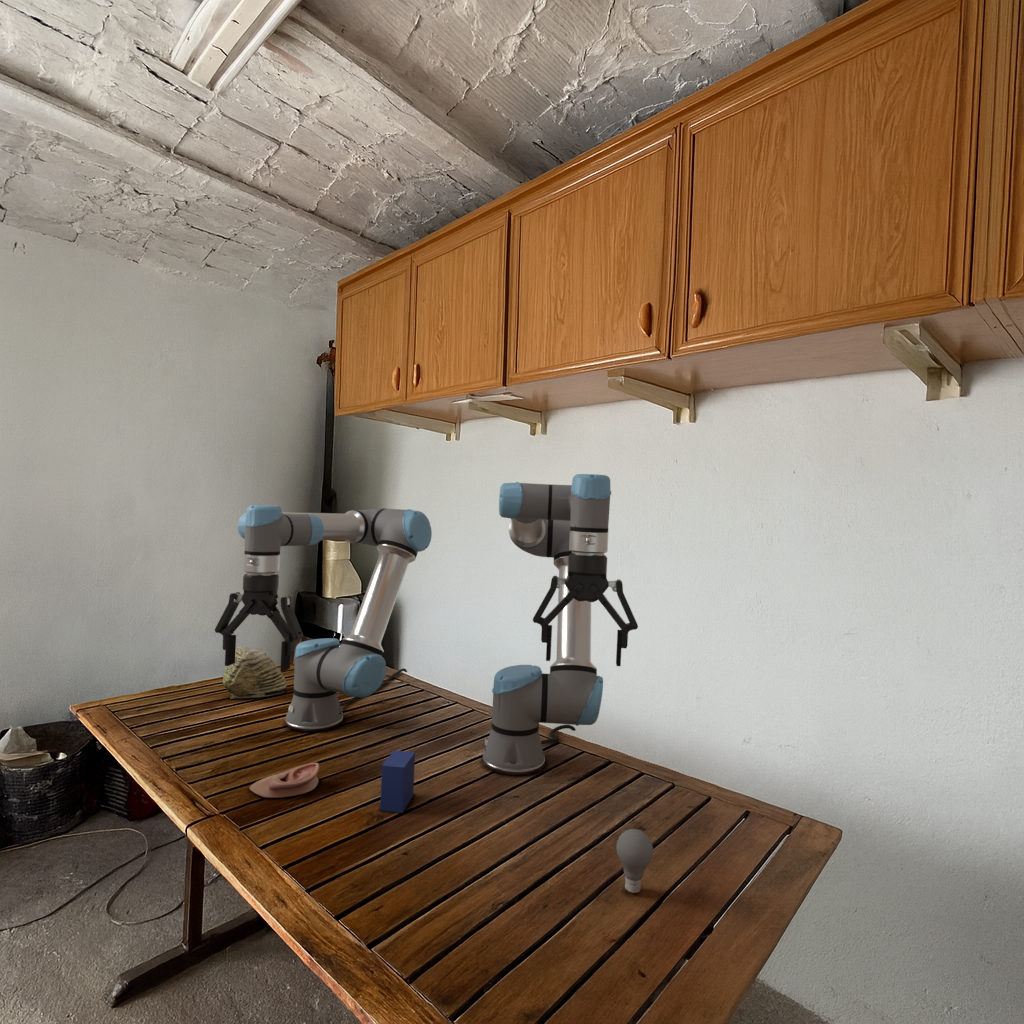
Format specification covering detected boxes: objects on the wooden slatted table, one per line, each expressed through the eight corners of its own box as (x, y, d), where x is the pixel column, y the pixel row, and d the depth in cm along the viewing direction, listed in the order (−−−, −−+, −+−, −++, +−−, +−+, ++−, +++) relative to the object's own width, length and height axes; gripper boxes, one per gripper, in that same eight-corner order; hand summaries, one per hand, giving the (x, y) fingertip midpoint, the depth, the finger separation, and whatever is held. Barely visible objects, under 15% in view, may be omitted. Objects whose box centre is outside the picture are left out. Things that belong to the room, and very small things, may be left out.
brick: (380, 810, 129) (381, 765, 129) (392, 793, 137) (394, 750, 137) (402, 813, 128) (404, 767, 128) (413, 795, 136) (415, 752, 136)
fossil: (218, 695, 195) (220, 647, 195) (278, 685, 208) (279, 640, 207) (228, 703, 189) (230, 653, 188) (289, 692, 201) (290, 645, 201)
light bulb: (610, 879, 108) (613, 822, 108) (644, 879, 109) (647, 822, 109) (619, 902, 102) (622, 840, 102) (655, 901, 103) (658, 840, 103)
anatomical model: (241, 775, 133) (272, 754, 144) (240, 794, 133) (272, 771, 144) (299, 783, 130) (326, 761, 142) (298, 802, 130) (325, 779, 142)
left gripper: (200, 571, 141) (196, 666, 141) (304, 578, 137) (300, 676, 137) (221, 568, 148) (217, 658, 149) (320, 575, 144) (316, 668, 145)
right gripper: (522, 551, 121) (517, 661, 122) (655, 558, 118) (649, 671, 118) (526, 548, 129) (521, 652, 129) (651, 555, 126) (646, 661, 126)
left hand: (257, 667), depth 143 cm, fingers open, 13 cm apart
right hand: (583, 662), depth 124 cm, fingers open, 13 cm apart
